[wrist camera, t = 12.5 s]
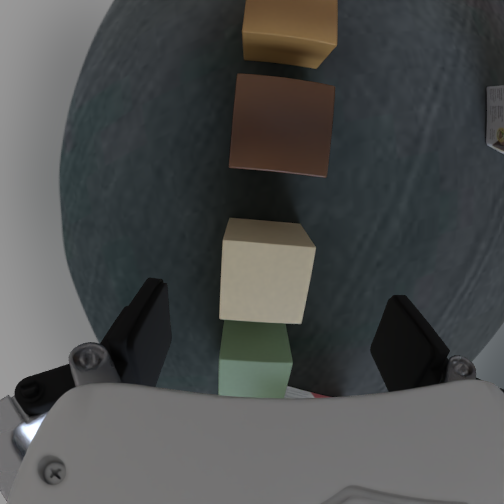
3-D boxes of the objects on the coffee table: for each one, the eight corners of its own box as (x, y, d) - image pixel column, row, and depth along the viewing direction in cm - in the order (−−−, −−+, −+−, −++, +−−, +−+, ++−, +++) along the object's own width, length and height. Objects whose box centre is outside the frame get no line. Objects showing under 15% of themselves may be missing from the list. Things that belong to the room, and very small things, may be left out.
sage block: (224, 317, 22) (218, 358, 17) (285, 321, 22) (293, 362, 18) (222, 362, 24) (218, 403, 19) (277, 365, 24) (281, 406, 19)
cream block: (229, 217, 19) (222, 239, 15) (300, 223, 19) (316, 247, 15) (225, 282, 21) (219, 319, 16) (291, 286, 21) (301, 324, 16)
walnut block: (240, 92, 16) (237, 72, 12) (314, 101, 16) (335, 85, 12) (234, 164, 18) (228, 168, 13) (307, 171, 18) (327, 178, 13)
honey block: (250, 5, 14) (250, -31, 9) (319, 14, 14) (337, -18, 9) (243, 60, 15) (241, 32, 11) (316, 69, 16) (337, 45, 11)
